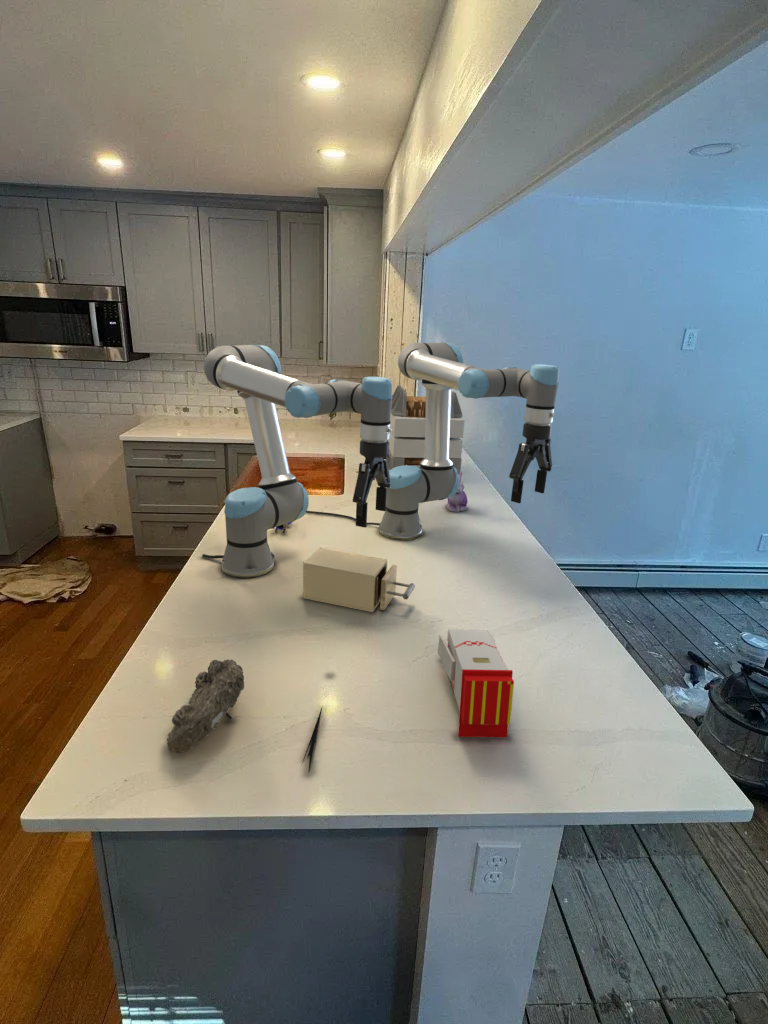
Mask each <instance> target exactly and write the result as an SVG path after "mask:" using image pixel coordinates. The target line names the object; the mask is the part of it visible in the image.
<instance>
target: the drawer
mask: <svg viewBox="0 0 768 1024" xmlns="http://www.w3.org/2000/svg"><path fill="white" fill-rule="evenodd" d="M397 568H398V565H397V564H392V565H391V566H390V568H388V565H387V566H386V565H385V566H384V567H383V568H382V570H381V571H380V572H379V574H378V575H377V576H376V577H375V599H374V605H375V606H376V605H377V604H378V602H379V601H380V599H381V601H380V603H379V604H380V606H379V610H382V611H385V610H386V609H387V607H388V605H389V604H390V603H391V601H392V599H394V596H397V597H401V598H403V600H408V599H409V598H410V596H411V594H412V593H413V591H414V589H415V588H416V585H415V583H413V582H411V583H409V584H408V583H404V582H399V581H397V571H398V569H397ZM397 586H400V587H405V588H406V589H405V591H404V592H403V593H401V592H397V591H396V587H397ZM379 604H378V605H379Z"/></svg>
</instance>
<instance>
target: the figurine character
mask: <svg viewBox="0 0 768 1024" xmlns="http://www.w3.org/2000/svg"><path fill="white" fill-rule="evenodd" d="M292 523H293V522H291V523H286V524H283V525H280V526H277V527H274V528H271V529H272V530H274V533H276V534H277V533H278V530H280V531H282V534H285V533H286V531H287V530H288V529H289V528H290V525H292ZM271 529H270V530H271Z"/></svg>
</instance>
